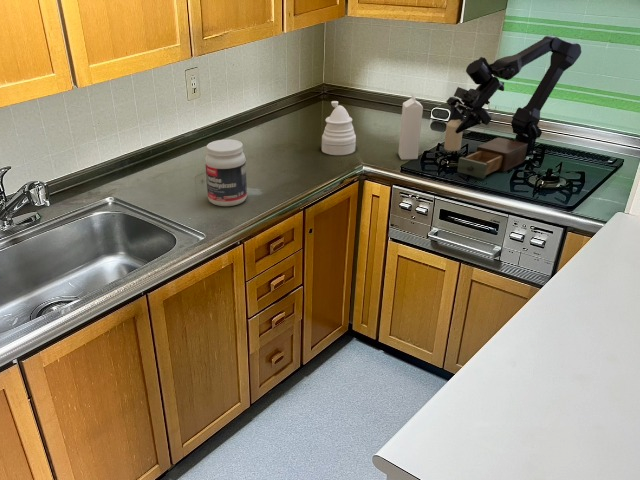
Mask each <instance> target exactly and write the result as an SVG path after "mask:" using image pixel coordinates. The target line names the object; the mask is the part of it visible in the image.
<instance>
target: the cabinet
mask: <svg viewBox="0 0 640 480" xmlns="http://www.w3.org/2000/svg"><path fill="white" fill-rule="evenodd" d="M527 146H528V144H527V143H522V142H518V141H514V139H509V138H503V137H500V136H498V137H496V138H493V139H491V140H489V141H487V142H485V143H482V144H480V145H478V146H476V152H478V151H480V150H484V151H488V152H492V153H496V154H500V155H504V158H503V164H502V168H500V169H498V170H496V171H497V172H499V173H505V172H507V171H509V170H511V169H513V168H515V167H518V166H519V165H521V164H524V163H525V160H526V156H527V155H526V151H527Z"/></svg>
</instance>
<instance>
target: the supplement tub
mask: <svg viewBox="0 0 640 480" xmlns="http://www.w3.org/2000/svg"><path fill="white" fill-rule="evenodd" d="M243 151H244V144H243V142H241V141H240V140H236V139H230V138H229V139H217V140H213V141H211V142H209V143H207V144H206V153H207V154H206V155H205V159H204V163H205V176H206V177H205V178H206V190H207V191H206V192H207V199H208V201H209V203H211V204H213V205H215V206H218V207H233V206H238V205H240V204H242V203H244V202H245V201H246V200H247V197H248V185H247V159H246V155H245V152H243Z"/></svg>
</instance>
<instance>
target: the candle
mask: <svg viewBox="0 0 640 480" xmlns="http://www.w3.org/2000/svg"><path fill="white" fill-rule="evenodd" d="M447 122H448V121H447ZM447 122H446V124H447V126H446V125H445V126H446V128H445V135H444V145H443V149H444V150H445V151H449V152H457V151H460V150H461V148H462V142H463V141H462V140H463V133H464V131H462V132H460V133H458V134H457V133H456V132H455V131H456V130H457V128H458V127H459V125H460V124H461V123H462V122H463V120H462V119H460V120H450V121H449V122H448V123H447Z"/></svg>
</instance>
